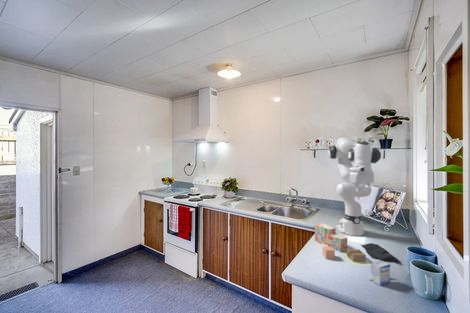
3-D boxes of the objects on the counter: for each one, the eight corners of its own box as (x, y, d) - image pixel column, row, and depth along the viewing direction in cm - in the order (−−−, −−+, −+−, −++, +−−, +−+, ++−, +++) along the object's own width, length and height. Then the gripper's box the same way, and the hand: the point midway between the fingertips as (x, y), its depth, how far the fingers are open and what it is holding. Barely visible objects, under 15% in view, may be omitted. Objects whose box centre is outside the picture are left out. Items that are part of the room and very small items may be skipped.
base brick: (346, 255, 130) (347, 249, 129) (358, 256, 129) (358, 249, 129) (353, 261, 123) (353, 254, 122) (365, 262, 122) (365, 254, 122)
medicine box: (379, 285, 102) (380, 267, 102) (370, 280, 106) (370, 263, 106) (390, 282, 106) (390, 264, 105) (380, 277, 110) (381, 260, 109)
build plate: (339, 253, 134) (339, 252, 134) (358, 254, 134) (358, 252, 134) (352, 267, 118) (352, 265, 118) (375, 268, 118) (375, 266, 118)
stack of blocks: (347, 252, 137) (347, 232, 136) (340, 254, 134) (340, 234, 134) (321, 239, 156) (321, 222, 156) (314, 240, 153) (314, 223, 153)
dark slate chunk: (381, 248, 144) (381, 240, 144) (402, 265, 122) (403, 256, 122) (356, 246, 146) (356, 239, 146) (373, 263, 124) (373, 255, 124)
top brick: (322, 256, 131) (322, 246, 131) (330, 256, 131) (331, 246, 130) (325, 260, 126) (326, 250, 126) (334, 260, 126) (334, 250, 126)
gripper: (366, 167, 142) (366, 188, 142) (347, 168, 132) (347, 191, 132) (377, 168, 137) (376, 190, 137) (358, 169, 126) (357, 192, 126)
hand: (362, 190), depth 134 cm, fingers open, 8 cm apart
